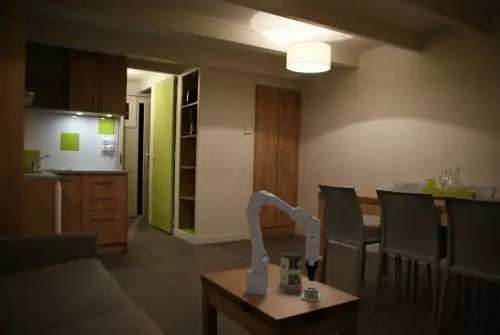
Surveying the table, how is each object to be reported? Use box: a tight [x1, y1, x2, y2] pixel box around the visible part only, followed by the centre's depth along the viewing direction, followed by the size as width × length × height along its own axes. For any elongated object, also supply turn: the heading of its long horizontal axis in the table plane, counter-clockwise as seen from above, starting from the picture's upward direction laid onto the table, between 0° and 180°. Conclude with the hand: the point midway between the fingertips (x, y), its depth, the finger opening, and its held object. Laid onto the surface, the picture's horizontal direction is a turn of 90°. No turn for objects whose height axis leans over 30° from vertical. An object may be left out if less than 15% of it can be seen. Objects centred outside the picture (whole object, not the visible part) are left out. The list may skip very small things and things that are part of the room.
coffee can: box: [279, 251, 303, 287], centre depth 180 cm, size 10×10×14 cm
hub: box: [300, 289, 322, 303], centre depth 161 cm, size 8×8×4 cm
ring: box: [303, 286, 319, 298], centre depth 161 cm, size 6×6×3 cm
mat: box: [283, 288, 303, 296], centre depth 167 cm, size 7×7×1 cm
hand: (311, 278), depth 161 cm, fingers open, 7 cm apart
